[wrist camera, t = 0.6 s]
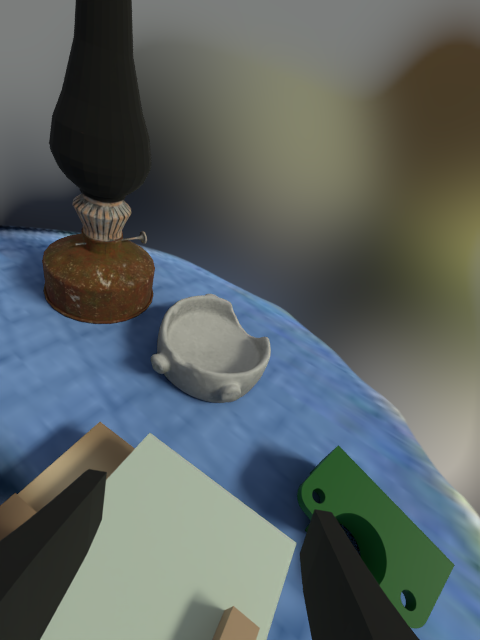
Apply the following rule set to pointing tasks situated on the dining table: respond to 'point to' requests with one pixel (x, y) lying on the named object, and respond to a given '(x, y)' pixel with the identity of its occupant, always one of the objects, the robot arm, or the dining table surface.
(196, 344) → the dish
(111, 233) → the oil lamp
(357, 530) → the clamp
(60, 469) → the tan shallow box
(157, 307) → the dining table surface
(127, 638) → the lid
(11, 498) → the wooden block
